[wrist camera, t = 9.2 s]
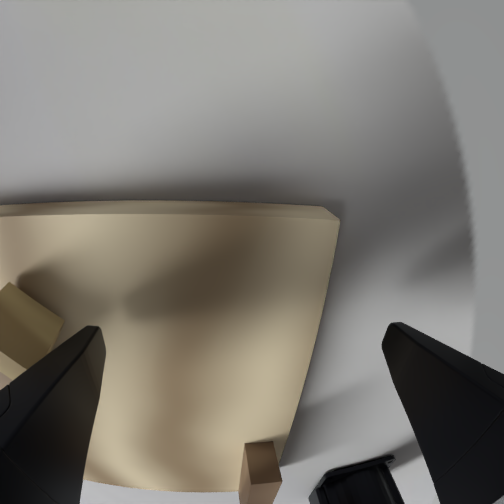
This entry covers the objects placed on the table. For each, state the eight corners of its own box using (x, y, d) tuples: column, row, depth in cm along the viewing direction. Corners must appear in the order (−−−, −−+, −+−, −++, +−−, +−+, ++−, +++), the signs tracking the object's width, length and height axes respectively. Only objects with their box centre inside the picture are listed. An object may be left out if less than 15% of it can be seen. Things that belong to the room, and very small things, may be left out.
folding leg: (24, 443, 11) (14, 475, 9) (-8, 422, 11) (-21, 453, 8) (64, 320, 8) (35, 374, 6) (9, 281, 8) (-31, 326, 5)
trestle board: (323, 206, 10) (403, 274, 6) (266, 471, 17) (278, 530, 13) (-107, 217, 7) (-160, 253, 2) (-8, 434, 14) (-24, 479, 9)
